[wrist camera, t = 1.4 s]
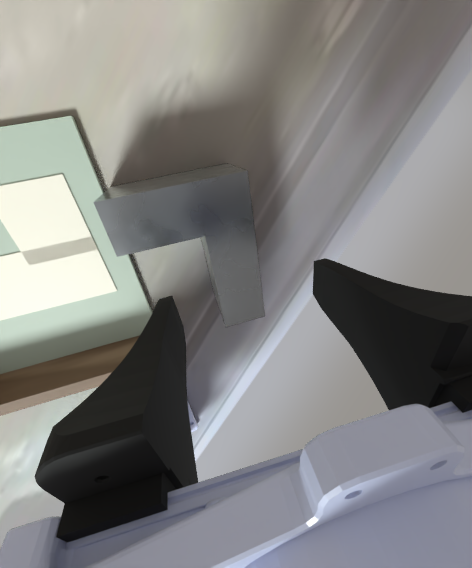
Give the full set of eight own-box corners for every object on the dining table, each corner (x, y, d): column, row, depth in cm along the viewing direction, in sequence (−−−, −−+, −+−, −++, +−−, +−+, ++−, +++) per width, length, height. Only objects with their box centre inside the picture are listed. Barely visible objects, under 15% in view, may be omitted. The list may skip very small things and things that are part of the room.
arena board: (162, 335, 24) (161, 339, 23) (-31, 389, 21) (-34, 394, 21) (73, 116, 15) (70, 115, 14) (-267, 170, 13) (-282, 171, 12)
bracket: (246, 284, 23) (265, 316, 19) (157, 307, 22) (156, 347, 18) (227, 163, 18) (247, 170, 14) (110, 186, 17) (93, 202, 13)
